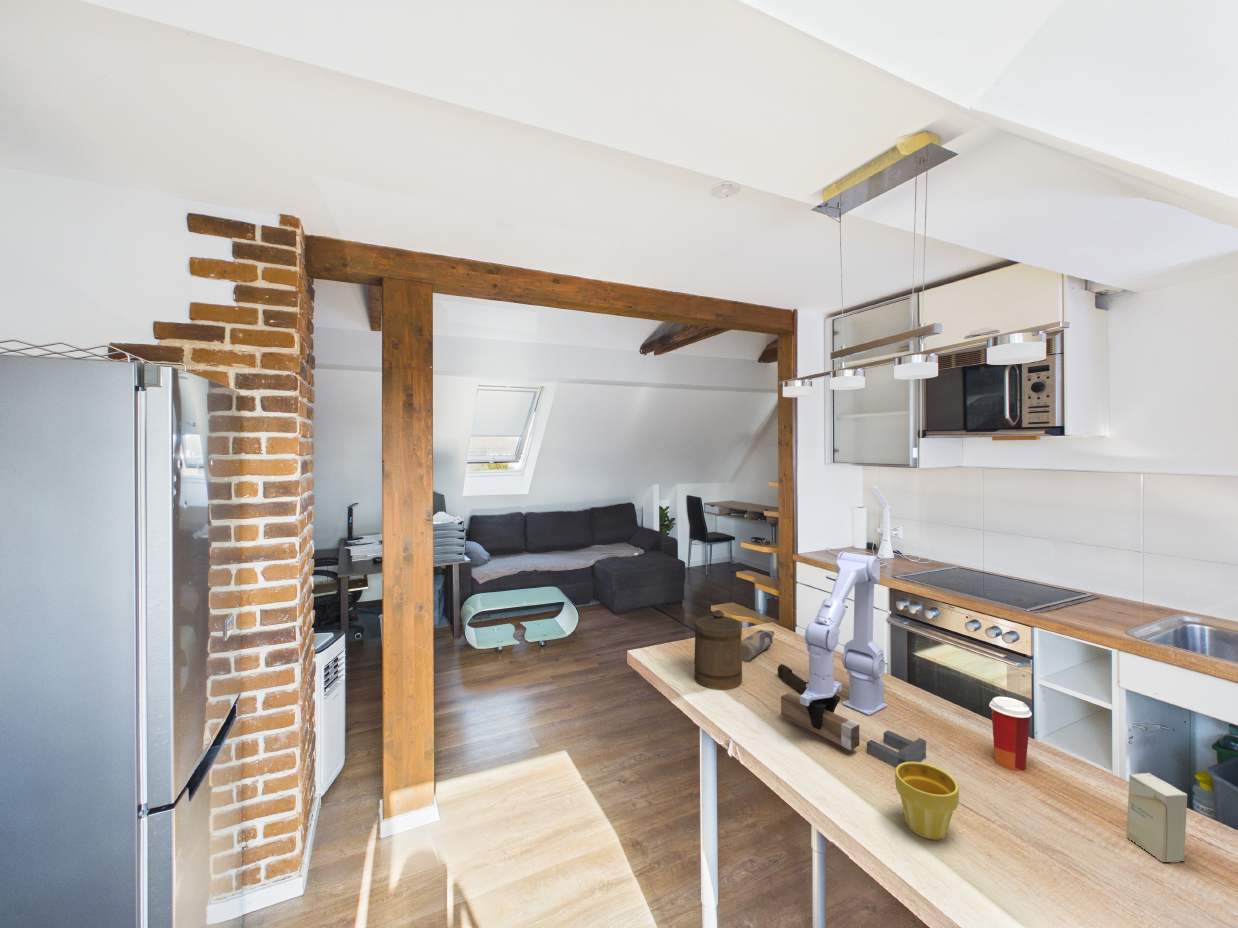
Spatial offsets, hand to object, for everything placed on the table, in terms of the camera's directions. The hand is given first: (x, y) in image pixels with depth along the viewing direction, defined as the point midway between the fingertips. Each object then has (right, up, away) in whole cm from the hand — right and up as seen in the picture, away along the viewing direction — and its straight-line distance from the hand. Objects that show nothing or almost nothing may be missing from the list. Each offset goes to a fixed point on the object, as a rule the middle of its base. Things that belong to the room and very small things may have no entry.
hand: (821, 725), depth 129 cm
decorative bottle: (0, -3, +57) cm, 57 cm away
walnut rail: (-1, -1, +1) cm, 2 cm away
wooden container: (-19, -3, +34) cm, 39 cm away
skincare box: (+45, -4, -37) cm, 59 cm away
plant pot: (+8, -4, -31) cm, 32 cm away
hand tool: (+3, -3, +27) cm, 28 cm away
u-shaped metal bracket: (+15, -3, -8) cm, 17 cm away
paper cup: (+39, -3, -11) cm, 41 cm away
